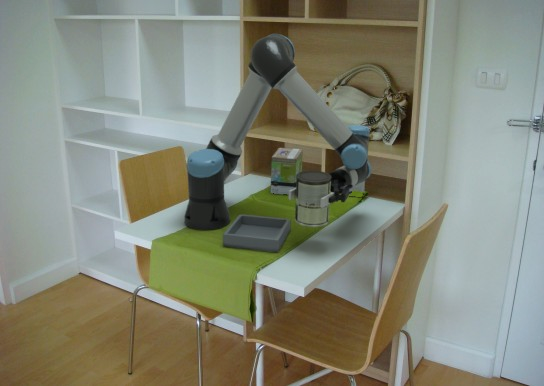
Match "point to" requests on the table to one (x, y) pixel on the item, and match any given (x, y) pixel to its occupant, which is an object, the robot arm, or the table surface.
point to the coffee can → (312, 198)
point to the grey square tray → (257, 233)
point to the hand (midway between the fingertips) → (305, 199)
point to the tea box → (285, 169)
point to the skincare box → (359, 187)
